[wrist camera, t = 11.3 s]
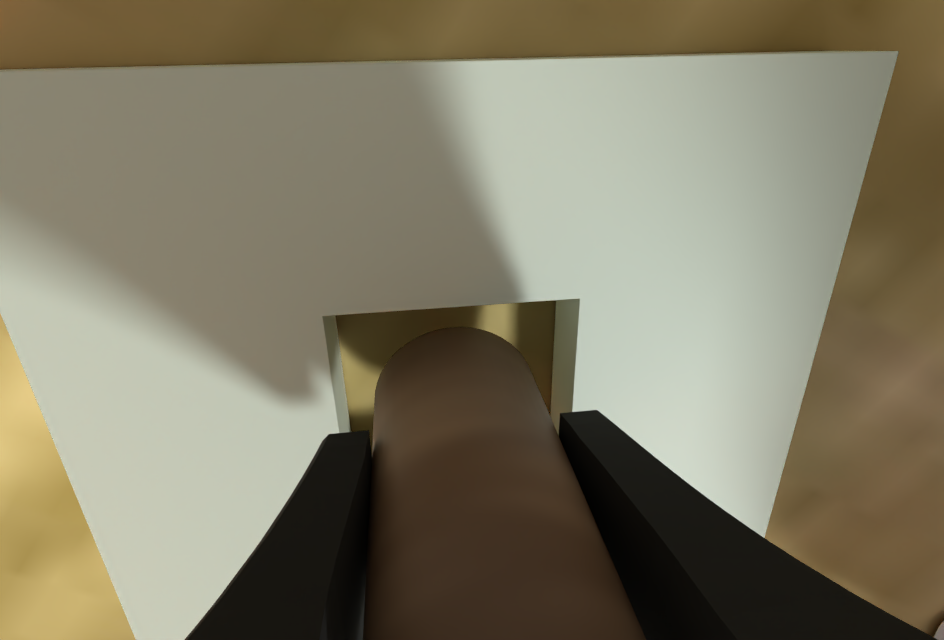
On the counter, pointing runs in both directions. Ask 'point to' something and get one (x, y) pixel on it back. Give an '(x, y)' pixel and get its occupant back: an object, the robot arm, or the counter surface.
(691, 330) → the socket board
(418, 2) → the counter surface
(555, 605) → the peg
